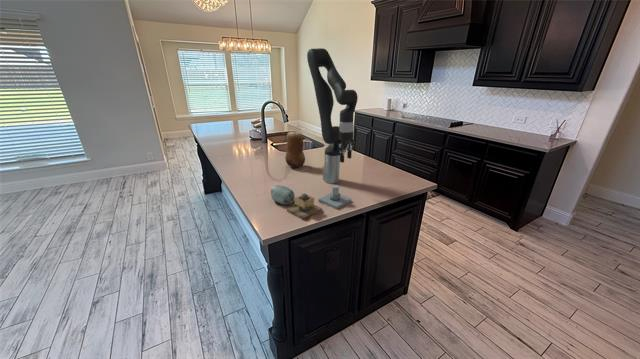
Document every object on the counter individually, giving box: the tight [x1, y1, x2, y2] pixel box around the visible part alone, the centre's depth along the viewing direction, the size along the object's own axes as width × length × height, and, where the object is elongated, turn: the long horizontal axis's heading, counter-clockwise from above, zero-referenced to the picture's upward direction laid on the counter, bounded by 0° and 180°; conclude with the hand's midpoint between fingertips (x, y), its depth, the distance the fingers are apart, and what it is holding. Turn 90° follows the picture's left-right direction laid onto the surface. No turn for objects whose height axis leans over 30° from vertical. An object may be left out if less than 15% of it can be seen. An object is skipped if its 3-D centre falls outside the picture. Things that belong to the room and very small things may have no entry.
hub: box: [318, 184, 352, 210], centre depth 129 cm, size 12×12×8 cm
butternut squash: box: [284, 131, 306, 169], centre depth 173 cm, size 14×13×25 cm
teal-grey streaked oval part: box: [270, 185, 296, 206], centre depth 128 cm, size 14×10×10 cm
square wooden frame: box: [294, 195, 315, 208], centre depth 118 cm, size 6×6×3 cm
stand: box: [286, 193, 323, 221], centre depth 119 cm, size 12×12×8 cm
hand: (345, 160), depth 137 cm, fingers open, 8 cm apart
